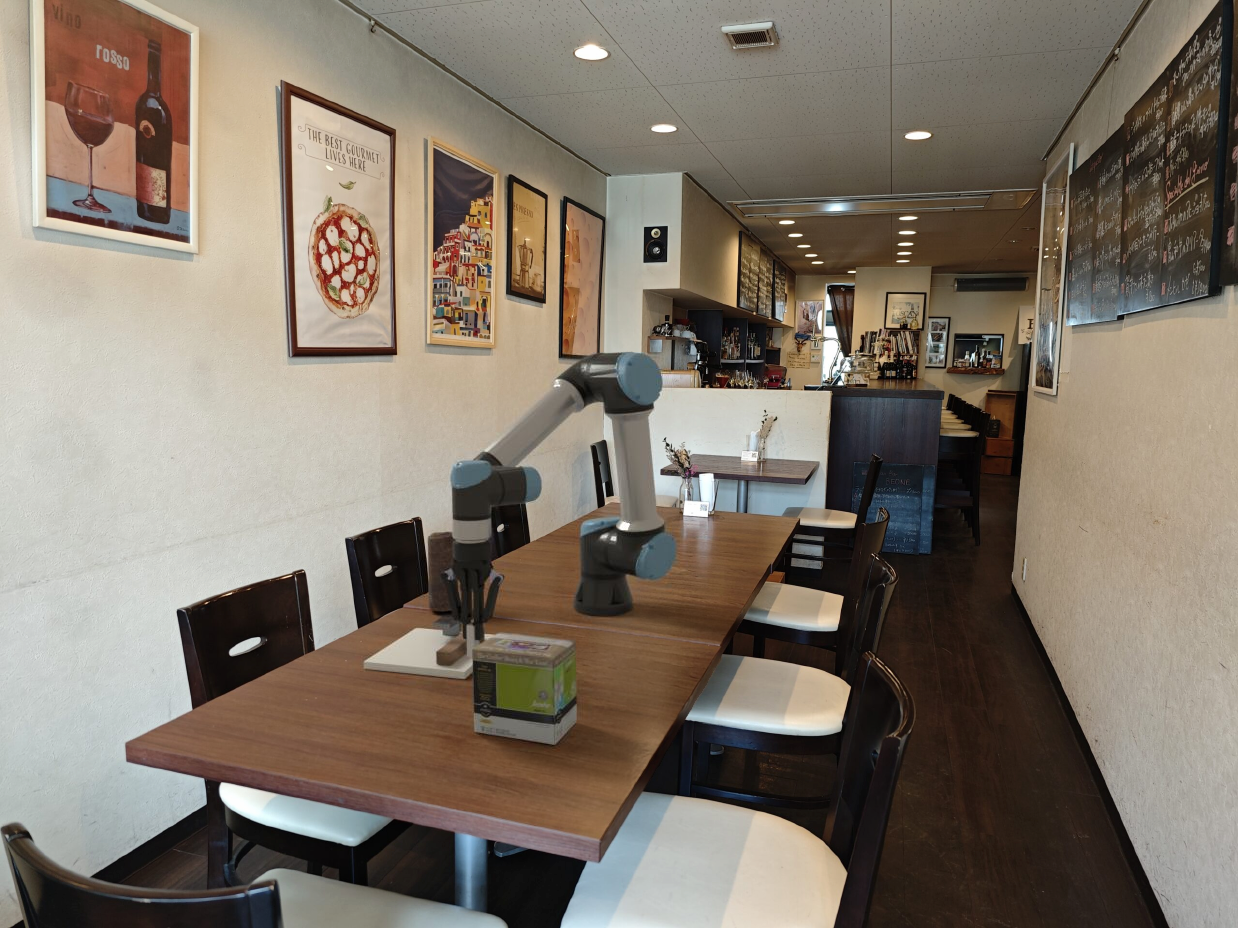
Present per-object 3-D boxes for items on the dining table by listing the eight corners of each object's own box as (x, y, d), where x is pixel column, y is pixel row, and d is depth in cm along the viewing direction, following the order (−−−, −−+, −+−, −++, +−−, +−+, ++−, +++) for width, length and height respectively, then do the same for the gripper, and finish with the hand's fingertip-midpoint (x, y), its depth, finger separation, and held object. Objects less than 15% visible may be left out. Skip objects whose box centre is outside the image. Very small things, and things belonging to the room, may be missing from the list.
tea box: (578, 721, 137) (578, 638, 135) (554, 747, 128) (554, 658, 126) (500, 709, 142) (498, 629, 140) (471, 733, 132) (470, 647, 131)
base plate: (506, 642, 177) (506, 635, 177) (464, 679, 156) (464, 671, 155) (416, 634, 182) (416, 627, 182) (363, 668, 161) (363, 661, 161)
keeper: (461, 634, 177) (461, 616, 177) (450, 642, 172) (449, 624, 171) (445, 633, 178) (444, 614, 178) (433, 641, 173) (432, 622, 172)
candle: (451, 616, 195) (449, 536, 193) (423, 614, 197) (421, 535, 195) (463, 607, 203) (462, 530, 201) (436, 605, 204) (434, 529, 202)
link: (469, 636, 176) (468, 618, 175) (487, 637, 175) (487, 619, 174) (433, 663, 159) (432, 643, 159) (453, 665, 158) (453, 645, 158)
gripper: (510, 537, 159) (510, 651, 162) (450, 533, 162) (451, 645, 165) (495, 544, 152) (496, 664, 154) (432, 540, 155) (434, 658, 157)
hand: (473, 654), depth 159 cm, fingers closed
